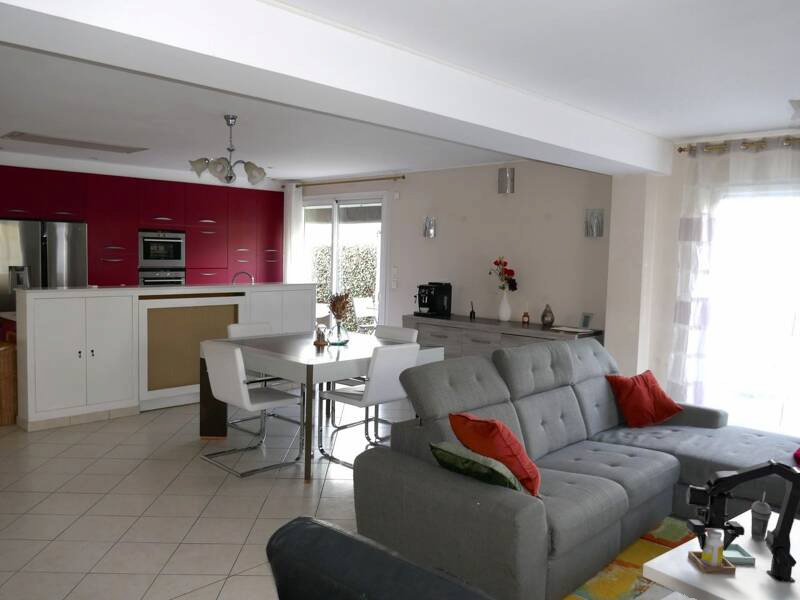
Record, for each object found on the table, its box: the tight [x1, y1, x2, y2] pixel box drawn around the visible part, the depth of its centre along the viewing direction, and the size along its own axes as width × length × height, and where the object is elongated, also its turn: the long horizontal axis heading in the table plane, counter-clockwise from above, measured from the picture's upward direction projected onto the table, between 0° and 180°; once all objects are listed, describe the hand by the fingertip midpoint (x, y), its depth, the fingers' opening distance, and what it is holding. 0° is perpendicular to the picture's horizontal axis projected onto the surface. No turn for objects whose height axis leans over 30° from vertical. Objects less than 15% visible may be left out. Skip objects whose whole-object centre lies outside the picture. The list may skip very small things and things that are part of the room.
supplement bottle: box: [700, 529, 724, 566], centre depth 230 cm, size 7×7×13 cm
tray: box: [723, 542, 756, 566], centre depth 239 cm, size 11×11×2 cm
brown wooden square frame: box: [687, 550, 737, 576], centre depth 231 cm, size 11×11×2 cm
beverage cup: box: [750, 491, 772, 542], centre depth 255 cm, size 7×7×20 cm
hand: (712, 549), depth 231 cm, fingers open, 8 cm apart
